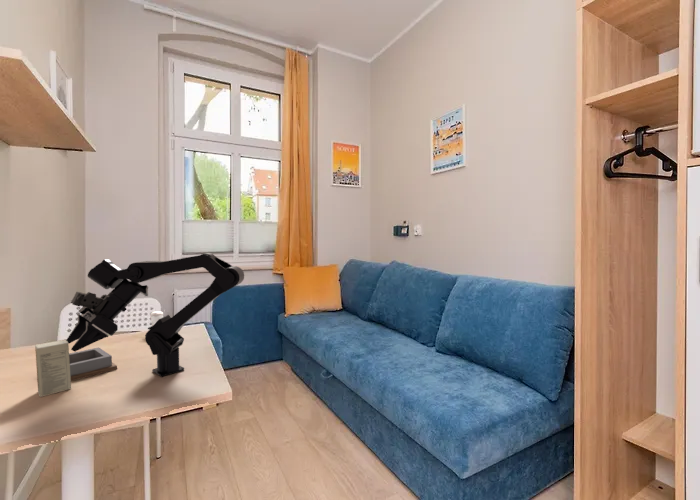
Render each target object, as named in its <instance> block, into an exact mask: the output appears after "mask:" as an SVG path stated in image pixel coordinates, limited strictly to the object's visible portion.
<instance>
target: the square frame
mask: <svg viewBox="0 0 700 500" xmlns="http://www.w3.org/2000/svg"><path fill="white" fill-rule="evenodd" d="M112 359H113V357H112V355H111V354H110V353H108V352H106V351H105V350H103V349H102V348H101V347H94V348H90V349H84V350H80V351H79V350H78V351H75V352H74V351H73V352H71V353H70V352H69V361H70V376H73V375H77V374H81V373H86V372H90V371H94V370H98V369H102V368H106V367H110V366H112V363H113V362H112V361H113V360H112Z"/></svg>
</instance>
